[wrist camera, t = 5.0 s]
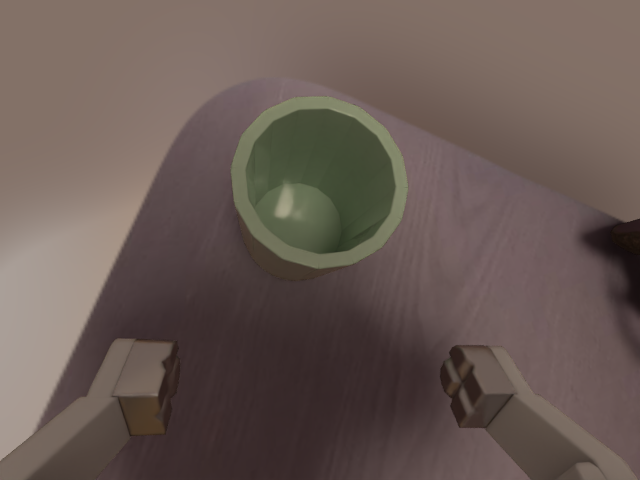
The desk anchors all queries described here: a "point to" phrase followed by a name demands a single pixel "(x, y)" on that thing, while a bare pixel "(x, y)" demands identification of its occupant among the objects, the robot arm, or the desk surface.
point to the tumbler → (316, 187)
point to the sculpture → (628, 236)
